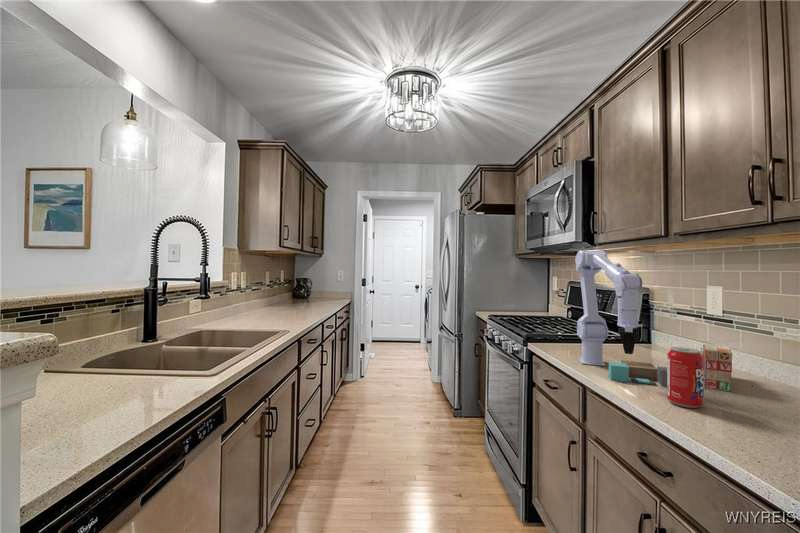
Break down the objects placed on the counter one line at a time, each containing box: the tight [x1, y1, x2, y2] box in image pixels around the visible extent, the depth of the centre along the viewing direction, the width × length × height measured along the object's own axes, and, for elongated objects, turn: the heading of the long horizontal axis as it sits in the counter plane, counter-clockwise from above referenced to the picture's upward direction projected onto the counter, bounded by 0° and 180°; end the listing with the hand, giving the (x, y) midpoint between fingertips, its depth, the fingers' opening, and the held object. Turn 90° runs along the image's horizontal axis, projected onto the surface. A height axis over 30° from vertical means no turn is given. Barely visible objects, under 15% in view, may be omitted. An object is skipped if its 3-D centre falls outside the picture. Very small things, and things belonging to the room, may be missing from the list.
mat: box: [629, 377, 658, 387], centre depth 118 cm, size 6×6×1 cm
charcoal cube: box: [656, 366, 667, 387], centre depth 116 cm, size 5×5×5 cm
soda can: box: [666, 346, 705, 409], centre depth 99 cm, size 8×8×15 cm
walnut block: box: [620, 360, 657, 382], centre depth 126 cm, size 9×9×4 cm
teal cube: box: [608, 361, 630, 383], centre depth 121 cm, size 5×5×5 cm
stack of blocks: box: [700, 342, 733, 393], centre depth 119 cm, size 21×6×12 cm, turn 143°
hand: (628, 351), depth 119 cm, fingers open, 7 cm apart
